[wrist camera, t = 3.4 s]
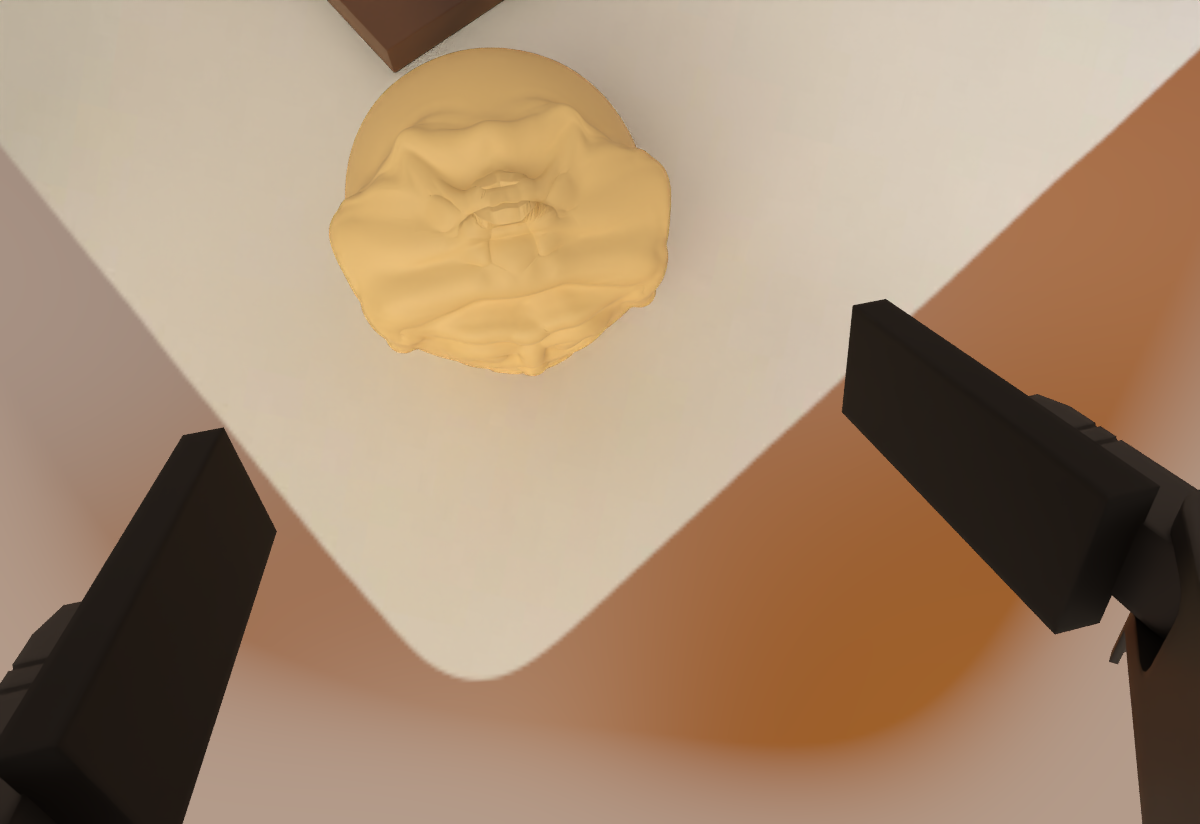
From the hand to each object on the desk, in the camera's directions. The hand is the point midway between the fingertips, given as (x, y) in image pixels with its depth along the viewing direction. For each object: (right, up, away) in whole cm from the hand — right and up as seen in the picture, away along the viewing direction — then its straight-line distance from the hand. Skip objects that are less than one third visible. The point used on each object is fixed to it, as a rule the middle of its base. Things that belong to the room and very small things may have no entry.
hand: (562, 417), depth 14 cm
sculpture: (-3, +6, +16) cm, 18 cm away
